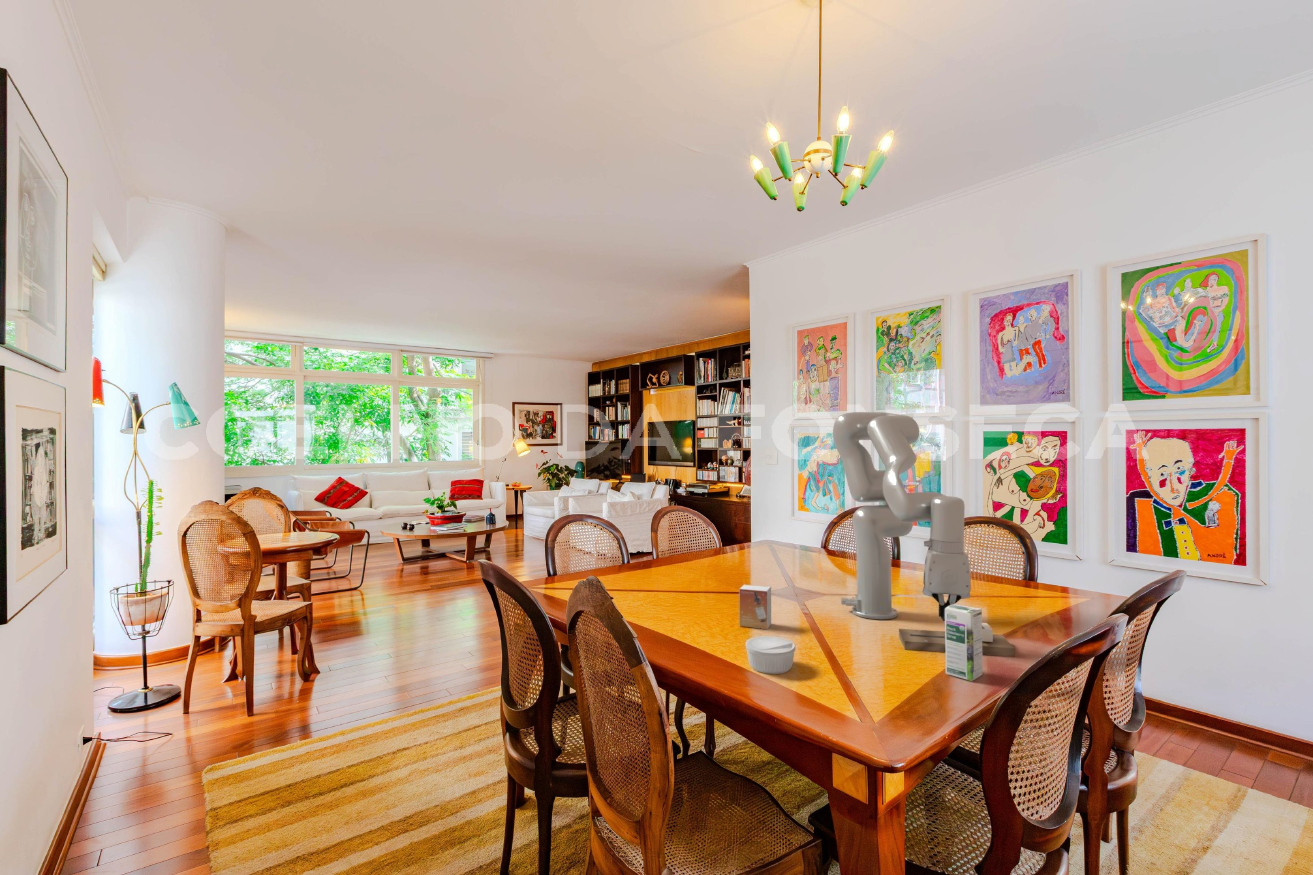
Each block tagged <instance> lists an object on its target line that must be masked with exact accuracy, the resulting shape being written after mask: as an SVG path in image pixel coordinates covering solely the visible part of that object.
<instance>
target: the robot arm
mask: <svg viewBox="0 0 1313 875" xmlns="http://www.w3.org/2000/svg"><path fill="white" fill-rule="evenodd" d="M832 438H833V442H834V446H835V448H836V450H837V453H838V454H839V456H840V459H841V462H842V465H843V469H844V474H845V478H846V482H847V486H848V490H849V493H850V496H851V498H852V499H853V500H854V501H855V502H857V503H882V504H877V505H873V504H872V505H865V506H862V507H859V508H858V509H856V510H855V511H854V513H853V514H852V518H851V520H852V528H853V533H854V538H855V547H856V549H855V550H856V552H855V553H856V556H855V557H856V590H857V591H856V594H855V597H852V598H848V597H840V604H841V605H845V606H846V607H851V612H852V614H854V615H855V616H857V617H860V618H864V619H871V620H891V619H896V617H898V616H899V615H898V610H897V609H896V608H893V607H892V606H893V604H892V603H893V602H892V599H893V597H892V593H893V592H892V555H891V551H890V548H889V547H888V545H887V543H886V542H885V540H884V539H887V538H899V537H905V536H907V535H908V534H910V533H911V532H912V530H913V527H914V523H918V522H920V523H921V522H922V523H923V522H930V534H929V536H930V537H929V539H928V540H923V546H924V547H927V548H929V549H927V552H926V555H925V560H924V568H923V570H924V571H923V588H922V594H923V595H924V596H926V597H931V598H933V599H934V600H935V601H936V602H937V603H938V617H940V618H941V620H942V622H945V608H946V607H948V606H950V605H953V604H958V603H959V601H960V600H964V599H970V598H971V594H970V593H971V591H972V590H971V589H972V586H971V585H972V584H971V579H972V578H971V569H970V560H969V556H968V553H967V552H965V505H966V504H965V502H964V500H963V499H962V498H961V497H957V496H950V495H948V496H947V495H946V494H943V493H940V492H936V491H926V492H924V491H923V492H922V491H921V492H908V491H907V490H906V489H905V486H904V483H903V480H902V479H901V477H900V475H902V474H904V473H905V472H907V471H909V470H910V469H912V468H913V466H915V464H916V462H917V455H916V453H915V452H914V450H913V448H912V447H911V445H912V444H914V443H916V442H917V441H918V440H919V438H920V428H919V424H918V422H917V421H916V420H915V418H913V417H911V416H909V415H903V414H899V413H890V412H882V411H881V412H880V411H876V412H875V411H872V412H871V411H870V412H869V411H868V412H867V411H856V412H855V411H852V412H846V413H842V414H841V415H839V416H838V417H837V418H836V419H835V421H834V423H833V427H832ZM860 441H871V442H872V444H873V447H874V449H875V450H876V453H877V454H878V456H879V458H880V460H881V462H882V464H883V465H884V467H885V469H884V470H883V469H882V470H877V469H876V468H875V466H874V463H873V459H872V455H871V454H870V452H869V451H868V450H867V449H866V447H865V446H864V445H863V444H861V443H860ZM944 595H947V599H946V601H945V597H944Z"/></svg>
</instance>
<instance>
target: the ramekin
mask: <svg viewBox="0 0 1313 875" xmlns="http://www.w3.org/2000/svg"><path fill="white" fill-rule="evenodd" d="M745 649H746V653H747V660H748V664H749V666H750V667H751V669H753V670H754V671H756V672H759V673H763V674H767V675H770V674H771V675H777V674H778V675H779V674H780V675H781V674H784V673H787V672H789V671H790V670H791V668H792V667H793V663H794V657H795V652H796V645H795V643H794V642H793V641H792V640H790V639H787V638H786V637H782V636H781V637H780V636H773V635H760V636H754V637H751V638H748V639H747V640H746V641H745Z"/></svg>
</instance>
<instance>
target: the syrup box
mask: <svg viewBox="0 0 1313 875" xmlns="http://www.w3.org/2000/svg"><path fill="white" fill-rule="evenodd" d="M982 611H983V610H982V608H979V607H978V608H977V607H972V606H966V605H962V604H961V605H960V604H958V603H955V604H953V605H950V606H948V607H946V608H945V621H944V631H945V646H946V652H945V674H946V675H947V676H953V677H956V678H959V679H962V680H965V681H969V682H973V681H975V680H976V679H978V678H980V677H981V676H983V671H984V670H983V655H982V623H983V621H982V620H983V616H982V615H983V612H982Z"/></svg>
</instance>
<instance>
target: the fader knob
mask: <svg viewBox="0 0 1313 875" xmlns="http://www.w3.org/2000/svg"><path fill="white" fill-rule="evenodd" d="M993 630H994V629H993V628H992V626H990V625H989V623H987V622H982V641H987V642H993V634H994V632H993Z"/></svg>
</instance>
